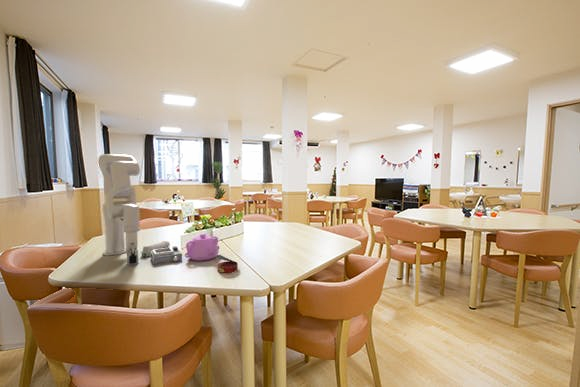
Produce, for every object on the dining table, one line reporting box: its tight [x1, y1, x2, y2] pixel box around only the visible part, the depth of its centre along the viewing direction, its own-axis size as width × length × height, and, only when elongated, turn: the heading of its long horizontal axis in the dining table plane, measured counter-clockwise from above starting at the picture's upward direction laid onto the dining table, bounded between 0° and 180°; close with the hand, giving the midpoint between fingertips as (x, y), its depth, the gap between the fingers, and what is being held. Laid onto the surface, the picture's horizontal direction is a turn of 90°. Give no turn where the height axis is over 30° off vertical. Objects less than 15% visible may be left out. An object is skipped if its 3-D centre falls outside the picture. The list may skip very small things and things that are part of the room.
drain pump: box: [126, 249, 139, 266], centre depth 136 cm, size 5×5×8 cm
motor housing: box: [150, 245, 183, 266], centre depth 143 cm, size 16×14×6 cm
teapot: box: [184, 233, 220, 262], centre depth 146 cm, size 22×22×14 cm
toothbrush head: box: [140, 241, 170, 258], centre depth 160 cm, size 5×7×25 cm
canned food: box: [216, 254, 239, 274], centre depth 127 cm, size 11×10×10 cm
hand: (132, 260), depth 136 cm, fingers open, 8 cm apart
